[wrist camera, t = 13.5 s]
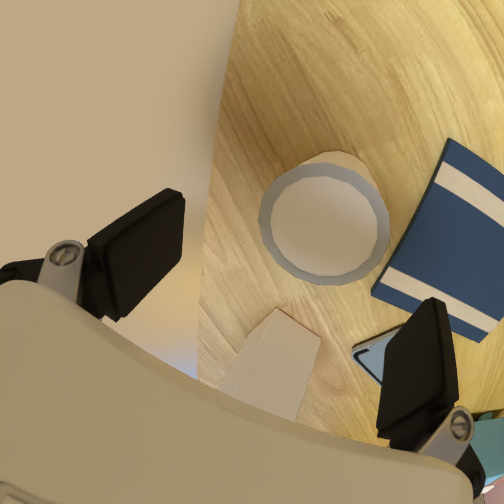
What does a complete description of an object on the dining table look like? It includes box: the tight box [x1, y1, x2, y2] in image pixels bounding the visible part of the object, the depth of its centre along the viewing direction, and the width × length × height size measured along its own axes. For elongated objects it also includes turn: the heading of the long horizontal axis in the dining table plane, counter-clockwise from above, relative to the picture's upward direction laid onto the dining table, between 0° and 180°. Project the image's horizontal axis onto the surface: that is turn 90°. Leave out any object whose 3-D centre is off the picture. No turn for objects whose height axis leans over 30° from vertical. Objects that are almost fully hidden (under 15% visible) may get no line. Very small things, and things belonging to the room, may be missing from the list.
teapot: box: [470, 412, 504, 486], centre depth 22 cm, size 22×11×14 cm, turn 102°
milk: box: [217, 308, 321, 422], centre depth 20 cm, size 6×6×22 cm
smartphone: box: [351, 327, 401, 387], centre depth 24 cm, size 7×1×15 cm
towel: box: [371, 138, 504, 343], centre depth 16 cm, size 14×14×1 cm
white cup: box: [258, 151, 390, 285], centre depth 16 cm, size 7×7×7 cm
